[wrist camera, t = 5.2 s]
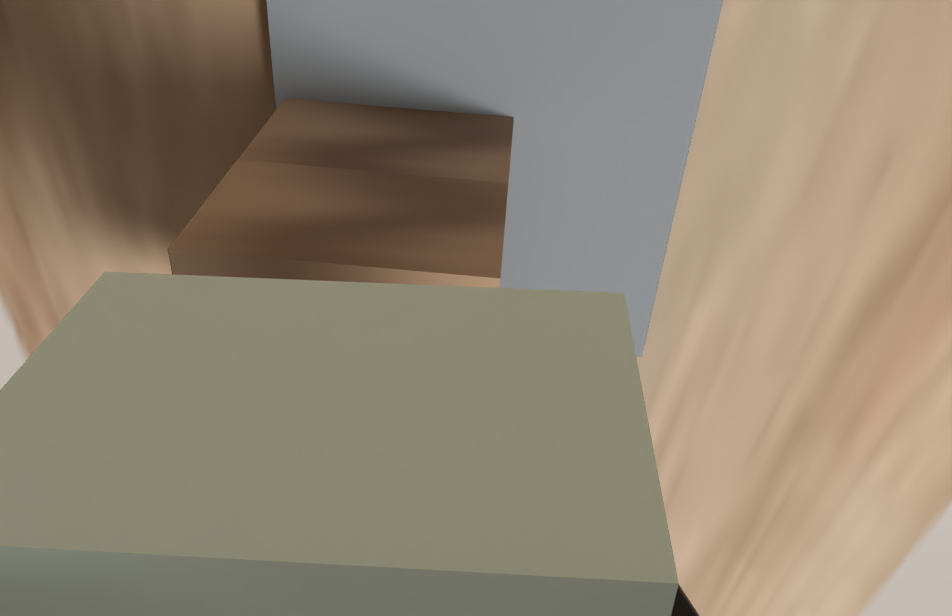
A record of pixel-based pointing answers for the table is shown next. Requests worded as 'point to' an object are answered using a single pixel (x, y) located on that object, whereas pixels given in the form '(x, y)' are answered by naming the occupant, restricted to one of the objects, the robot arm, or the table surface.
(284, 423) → the sage block
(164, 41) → the table surface
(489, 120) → the walnut block lower
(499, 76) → the slate mat
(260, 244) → the walnut block upper
